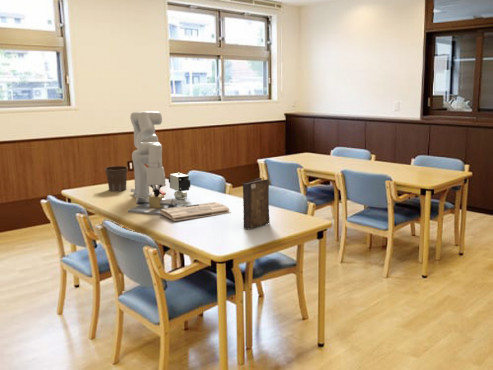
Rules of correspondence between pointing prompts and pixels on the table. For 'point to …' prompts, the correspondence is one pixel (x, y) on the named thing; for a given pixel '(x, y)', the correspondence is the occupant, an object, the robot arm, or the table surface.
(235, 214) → the table surface
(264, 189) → the book
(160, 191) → the lever
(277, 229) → the table surface
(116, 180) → the plant pot
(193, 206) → the newspaper
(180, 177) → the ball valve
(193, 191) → the table surface
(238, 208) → the table surface
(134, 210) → the board
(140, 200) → the valve body
